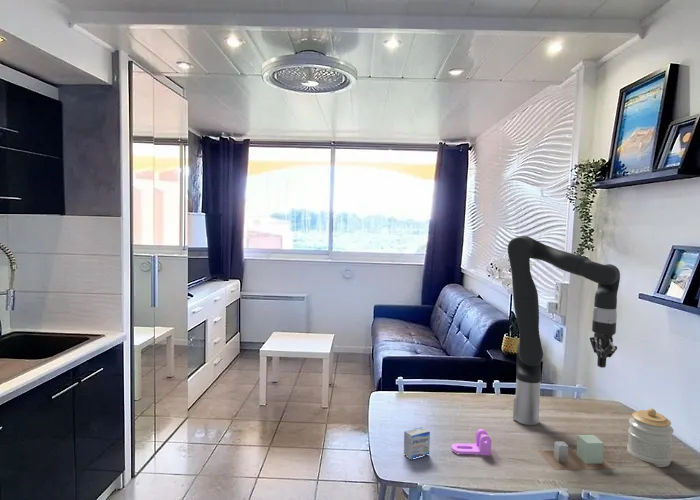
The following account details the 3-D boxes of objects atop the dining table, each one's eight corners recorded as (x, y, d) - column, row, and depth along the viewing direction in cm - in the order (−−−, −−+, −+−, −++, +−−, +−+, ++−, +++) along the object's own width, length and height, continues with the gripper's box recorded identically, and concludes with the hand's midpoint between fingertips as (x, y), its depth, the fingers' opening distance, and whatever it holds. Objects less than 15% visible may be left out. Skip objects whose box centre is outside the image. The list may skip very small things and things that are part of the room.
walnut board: (555, 474, 148) (555, 469, 148) (537, 454, 160) (537, 450, 160) (614, 472, 150) (614, 468, 150) (592, 453, 162) (592, 449, 162)
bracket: (485, 447, 165) (486, 428, 164) (490, 455, 159) (491, 436, 159) (449, 447, 165) (450, 428, 164) (453, 455, 159) (453, 435, 159)
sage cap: (586, 463, 152) (587, 443, 152) (576, 454, 158) (577, 435, 157) (602, 463, 153) (603, 443, 152) (592, 454, 158) (593, 434, 158)
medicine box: (410, 461, 155) (411, 436, 154) (403, 454, 159) (403, 430, 158) (429, 455, 158) (430, 431, 158) (421, 449, 162) (422, 426, 162)
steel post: (558, 462, 153) (559, 446, 152) (553, 457, 156) (554, 441, 156) (567, 462, 153) (568, 446, 153) (562, 457, 156) (563, 441, 156)
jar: (654, 471, 151) (658, 419, 150) (618, 452, 163) (621, 404, 162) (679, 463, 156) (683, 413, 155) (642, 445, 168) (645, 399, 167)
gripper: (583, 315, 172) (581, 361, 173) (606, 324, 158) (602, 373, 160) (602, 315, 172) (600, 361, 174) (626, 324, 159) (623, 373, 160)
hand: (601, 366), depth 167 cm, fingers closed
